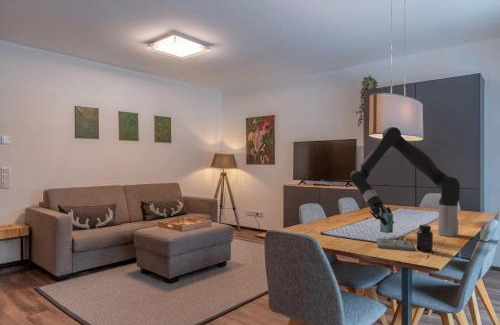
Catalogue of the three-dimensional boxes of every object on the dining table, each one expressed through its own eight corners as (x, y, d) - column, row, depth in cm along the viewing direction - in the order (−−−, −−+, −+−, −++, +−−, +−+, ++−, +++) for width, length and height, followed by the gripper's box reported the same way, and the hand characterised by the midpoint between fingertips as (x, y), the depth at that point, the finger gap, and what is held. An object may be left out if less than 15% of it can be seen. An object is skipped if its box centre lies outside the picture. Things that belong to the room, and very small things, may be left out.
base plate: (409, 243, 176) (410, 235, 176) (413, 251, 163) (413, 242, 162) (376, 240, 181) (376, 233, 181) (377, 247, 168) (377, 239, 167)
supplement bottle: (413, 248, 167) (414, 224, 166) (427, 248, 167) (427, 224, 167) (421, 252, 160) (422, 227, 160) (435, 252, 160) (436, 227, 160)
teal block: (386, 230, 190) (386, 212, 190) (392, 232, 186) (392, 214, 186) (380, 231, 188) (380, 213, 188) (386, 233, 184) (386, 214, 184)
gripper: (366, 195, 190) (383, 221, 179) (385, 194, 196) (402, 219, 186) (359, 204, 195) (375, 229, 184) (377, 202, 201) (394, 226, 191)
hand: (389, 224), depth 185 cm, fingers closed on teal block, 4 cm apart
